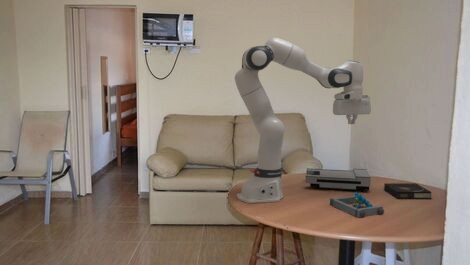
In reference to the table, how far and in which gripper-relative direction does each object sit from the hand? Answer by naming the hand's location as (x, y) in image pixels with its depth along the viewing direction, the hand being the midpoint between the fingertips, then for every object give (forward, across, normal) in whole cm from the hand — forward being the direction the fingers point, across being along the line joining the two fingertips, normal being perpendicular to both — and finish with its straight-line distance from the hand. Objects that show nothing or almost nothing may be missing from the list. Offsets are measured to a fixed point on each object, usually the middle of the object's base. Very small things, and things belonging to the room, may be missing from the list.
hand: (351, 124), depth 206 cm
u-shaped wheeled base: (+35, +11, +20) cm, 42 cm away
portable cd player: (+36, -28, +10) cm, 47 cm away
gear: (+36, +8, +20) cm, 42 cm away
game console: (+36, -5, -17) cm, 40 cm away
